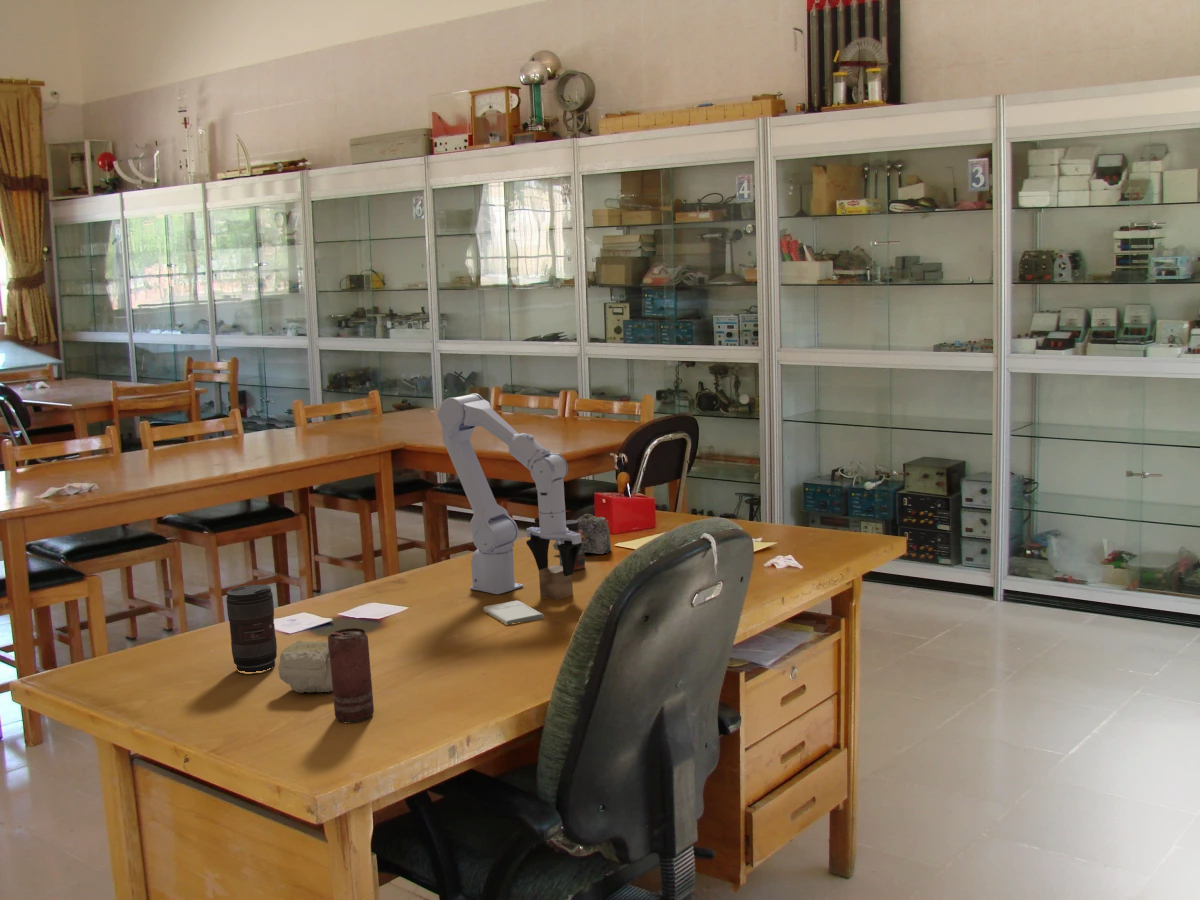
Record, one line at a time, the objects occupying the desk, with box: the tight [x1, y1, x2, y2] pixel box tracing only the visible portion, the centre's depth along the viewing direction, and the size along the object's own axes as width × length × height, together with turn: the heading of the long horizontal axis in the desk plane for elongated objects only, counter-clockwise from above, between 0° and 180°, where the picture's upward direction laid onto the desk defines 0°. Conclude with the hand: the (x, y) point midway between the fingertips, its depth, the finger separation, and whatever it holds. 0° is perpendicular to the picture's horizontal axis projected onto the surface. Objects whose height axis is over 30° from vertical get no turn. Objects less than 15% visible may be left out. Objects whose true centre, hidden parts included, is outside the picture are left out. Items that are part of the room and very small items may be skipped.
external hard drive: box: [482, 600, 545, 625], centre depth 237 cm, size 2×8×12 cm
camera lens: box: [225, 584, 278, 672], centre depth 210 cm, size 8×8×15 cm
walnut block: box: [538, 564, 574, 601], centre depth 249 cm, size 5×5×6 cm
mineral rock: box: [552, 513, 612, 555], centre depth 286 cm, size 13×11×10 cm
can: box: [327, 627, 375, 724], centre depth 184 cm, size 6×6×14 cm
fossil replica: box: [277, 640, 333, 694], centre depth 198 cm, size 12×8×10 cm
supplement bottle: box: [558, 519, 586, 572], centre depth 271 cm, size 6×6×11 cm
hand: (555, 572), depth 249 cm, fingers open, 7 cm apart
